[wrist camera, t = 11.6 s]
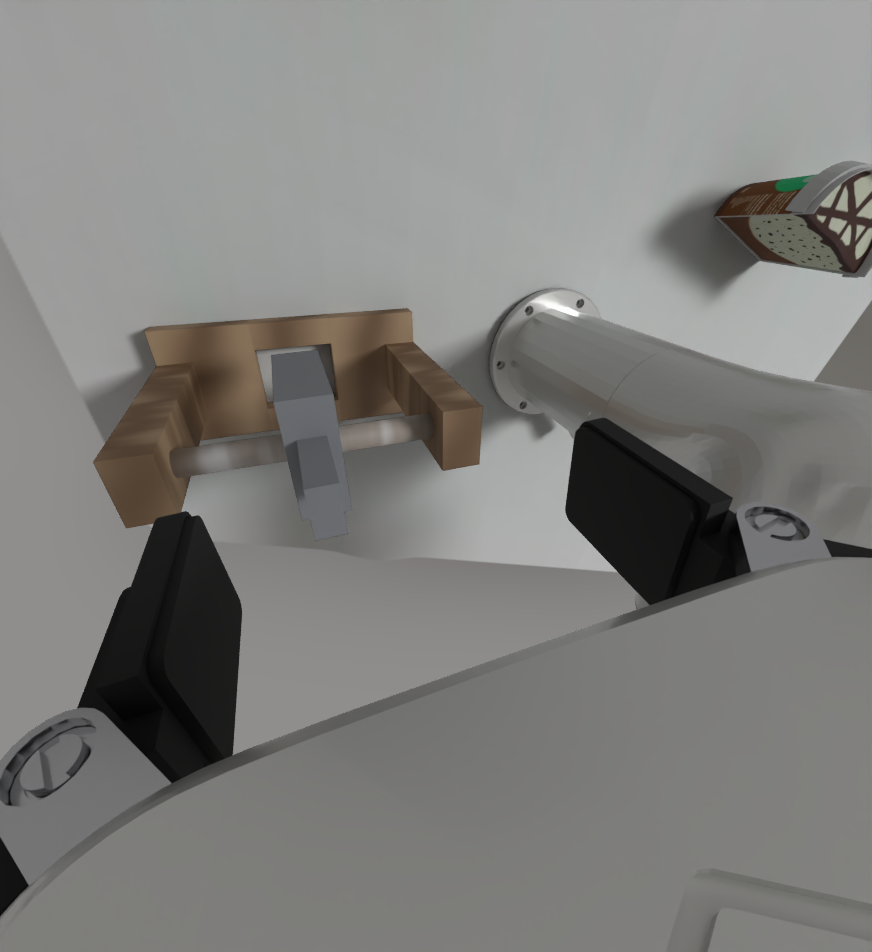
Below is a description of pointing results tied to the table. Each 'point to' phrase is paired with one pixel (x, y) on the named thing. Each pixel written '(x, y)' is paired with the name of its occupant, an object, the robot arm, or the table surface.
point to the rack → (247, 411)
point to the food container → (807, 220)
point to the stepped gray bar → (311, 440)
